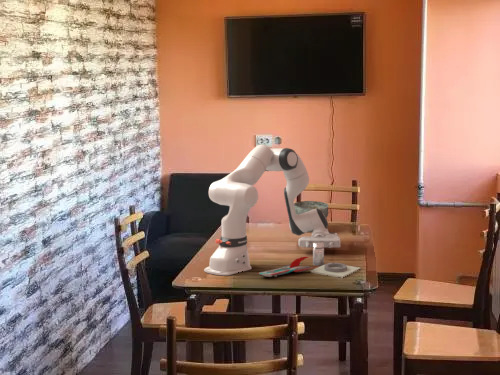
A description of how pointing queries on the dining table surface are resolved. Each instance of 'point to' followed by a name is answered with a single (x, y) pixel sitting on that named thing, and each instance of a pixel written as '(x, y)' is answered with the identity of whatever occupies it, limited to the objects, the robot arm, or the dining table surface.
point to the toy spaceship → (287, 268)
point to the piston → (318, 253)
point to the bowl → (310, 207)
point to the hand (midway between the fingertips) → (319, 246)
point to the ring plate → (339, 274)
